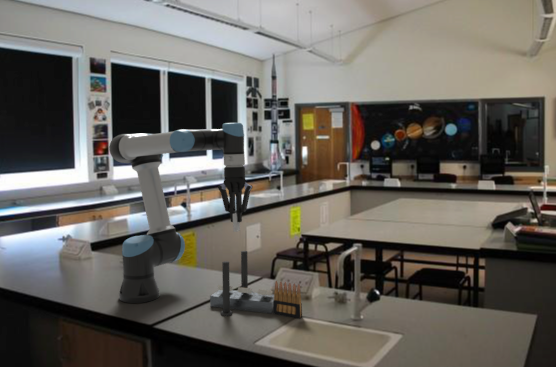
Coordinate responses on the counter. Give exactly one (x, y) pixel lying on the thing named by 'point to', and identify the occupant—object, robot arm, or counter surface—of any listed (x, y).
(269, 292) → the paddle right
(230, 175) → the robot arm
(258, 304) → the breaker panel
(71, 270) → the counter surface
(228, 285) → the cord post near
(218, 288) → the paddle left
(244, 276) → the cord post far
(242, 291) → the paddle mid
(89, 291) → the counter surface
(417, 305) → the counter surface
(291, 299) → the ammunition clip
